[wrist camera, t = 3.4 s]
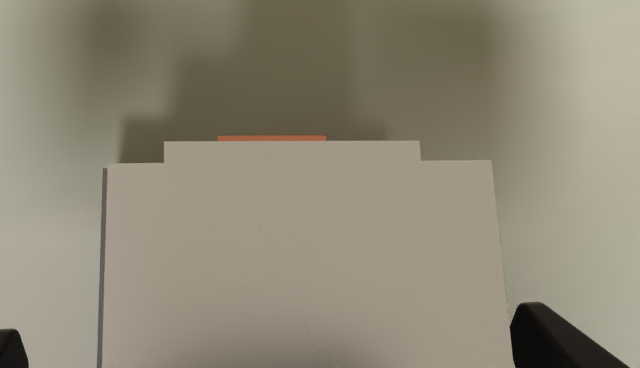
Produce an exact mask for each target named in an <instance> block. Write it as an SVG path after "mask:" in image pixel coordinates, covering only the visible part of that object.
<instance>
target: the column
mask: <svg viewBox="0 0 640 368" xmlns="http://www.w3.org/2000/svg"><path fill="white" fill-rule="evenodd" d="M102 368H514V364H513V355H512V346H511V336H510V327H509V318H508V308H507V299H506V290H505V280H504V271H503V262H502V253H501V243H500V234H499V225H498V215H497V206H496V197H495V187H494V178H493V169H492V160H425V161H421V152H420V141H164V163H108V169H107V204H106V239H105V274H104V309H103V344H102Z"/></svg>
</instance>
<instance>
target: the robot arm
mask: <svg viewBox="0 0 640 368" xmlns="http://www.w3.org/2000/svg"><path fill="white" fill-rule="evenodd" d="M510 336H511V346H512V355H513V361H514V364H515V367H516V368H630V367H628V366H627V365H626V364H624V363H623V362H622V361H620V360H619V359H618V358H616V357H615V356H614V355H612V354H611V353H609V352H608V351H607V350H605V349H604V348H603V347H601V346H600V345H599V344H597V343H596V342H595V341H593V340H592V339H591V338H589V337H588V336H587V335H585V334H584V333H583V332H581V331H580V330H579V329H577V328H576V327H574V326H573V325H572V324H570V323H569V322H568V321H566V320H565V319H564V318H562V317H561V316H560V315H558V314H557V313H556V312H554V311H553V310H552V309H550V308H549V307H548V306H546V305H545V304H543V303H541V302H526V303H521V304H520V305H519V306H518V307H517V309H516V312H515V314H514V317H513V319H512V322H511V325H510ZM0 368H29V364H28V358H27V355H26V352H25V349H24V346H23V343H22V340H21V337H20V334H19V332H18V331H17V330H16V329H0Z"/></svg>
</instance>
